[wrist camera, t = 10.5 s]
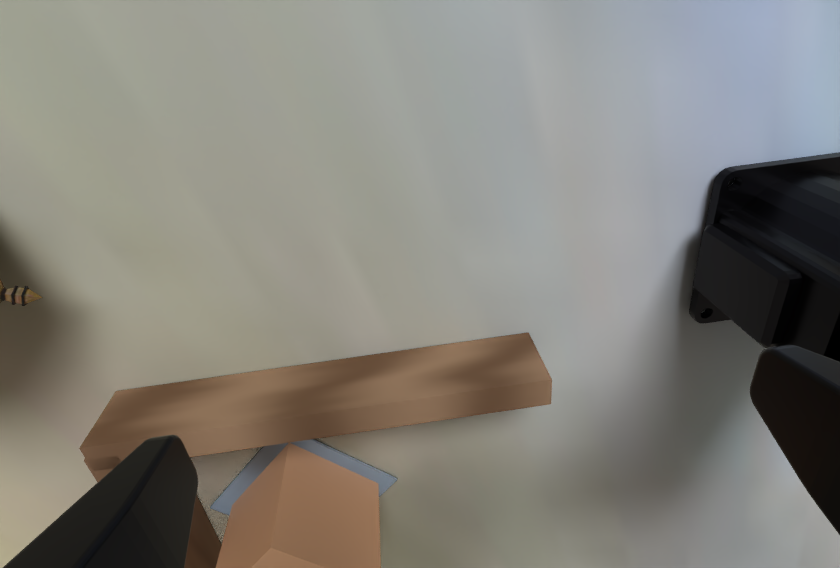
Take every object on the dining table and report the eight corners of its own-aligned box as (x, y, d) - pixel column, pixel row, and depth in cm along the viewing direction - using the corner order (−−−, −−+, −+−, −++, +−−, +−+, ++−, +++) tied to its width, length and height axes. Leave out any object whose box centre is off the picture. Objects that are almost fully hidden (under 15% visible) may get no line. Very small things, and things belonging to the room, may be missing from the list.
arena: (528, 332, 21) (552, 379, 18) (526, 585, 30) (542, 640, 27) (113, 391, 20) (76, 448, 18) (241, 630, 29) (229, 691, 27)
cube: (289, 442, 22) (270, 547, 18) (378, 483, 24) (381, 587, 20) (232, 505, 24) (202, 615, 20) (320, 538, 26) (311, 646, 22)
